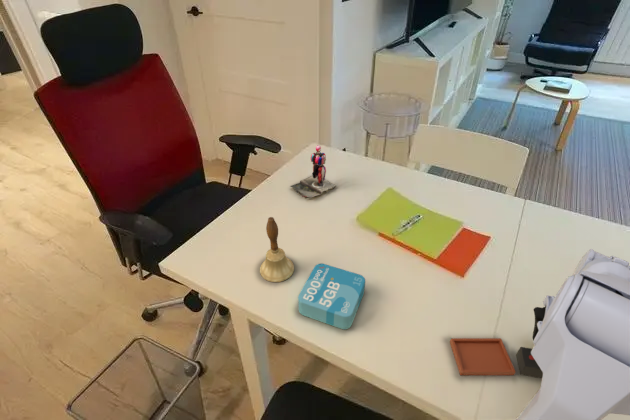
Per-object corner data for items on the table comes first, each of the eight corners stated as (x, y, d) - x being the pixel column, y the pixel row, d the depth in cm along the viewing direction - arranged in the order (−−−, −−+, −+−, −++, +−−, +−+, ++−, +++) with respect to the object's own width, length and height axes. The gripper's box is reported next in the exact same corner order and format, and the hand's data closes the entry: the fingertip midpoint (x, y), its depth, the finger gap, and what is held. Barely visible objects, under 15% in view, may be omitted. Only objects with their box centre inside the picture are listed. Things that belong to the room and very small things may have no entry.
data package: (350, 319, 74) (295, 300, 77) (349, 332, 77) (296, 313, 80) (367, 276, 82) (317, 261, 86) (365, 289, 85) (317, 274, 89)
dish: (499, 341, 75) (501, 338, 74) (513, 375, 69) (515, 372, 69) (449, 341, 75) (450, 338, 74) (460, 375, 69) (461, 372, 69)
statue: (315, 179, 123) (318, 136, 114) (335, 191, 117) (340, 147, 109) (289, 189, 116) (291, 144, 108) (309, 202, 111) (313, 155, 102)
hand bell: (260, 284, 86) (253, 233, 76) (259, 258, 93) (252, 209, 83) (296, 280, 87) (293, 229, 77) (292, 255, 94) (289, 205, 84)
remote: (554, 362, 71) (560, 353, 70) (560, 382, 68) (567, 373, 66) (515, 355, 73) (520, 346, 71) (519, 374, 70) (525, 365, 68)
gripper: (537, 276, 66) (512, 321, 75) (562, 349, 55) (529, 393, 64) (581, 282, 65) (550, 328, 73) (615, 358, 54) (574, 401, 62)
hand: (543, 358), depth 68 cm, fingers open, 7 cm apart
